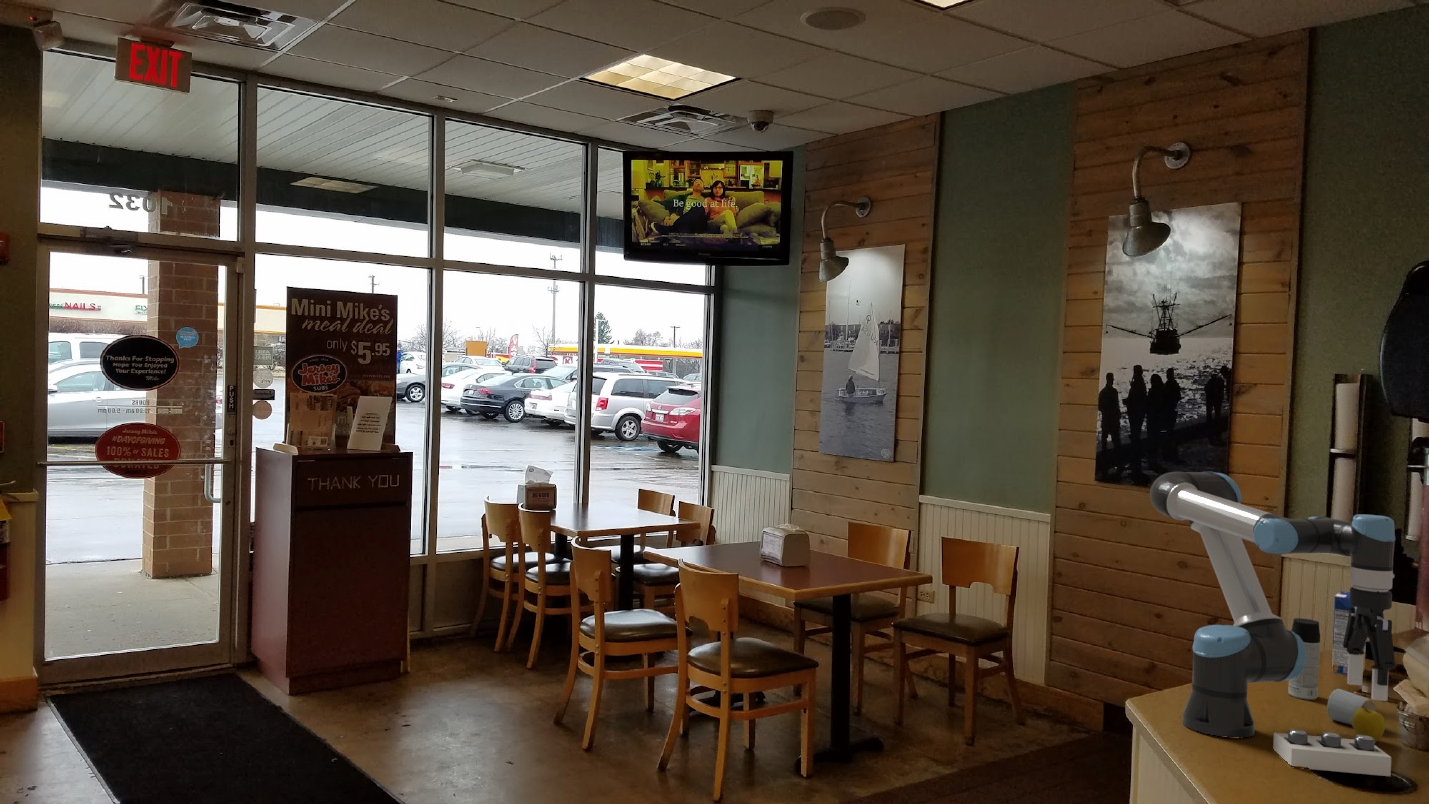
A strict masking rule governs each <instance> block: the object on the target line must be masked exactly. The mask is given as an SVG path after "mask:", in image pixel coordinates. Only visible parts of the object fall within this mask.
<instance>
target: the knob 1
mask: <svg viewBox="0 0 1429 804" xmlns="http://www.w3.org/2000/svg"><path fill="white" fill-rule="evenodd" d="M1287 734H1288V742H1289V743H1290V744H1294V745H1306V746H1307V743H1308V736H1309V733H1307V732H1306V731H1305V730H1301V729H1298V728H1297V729H1296V728H1291V729H1288V733H1287Z"/></svg>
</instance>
